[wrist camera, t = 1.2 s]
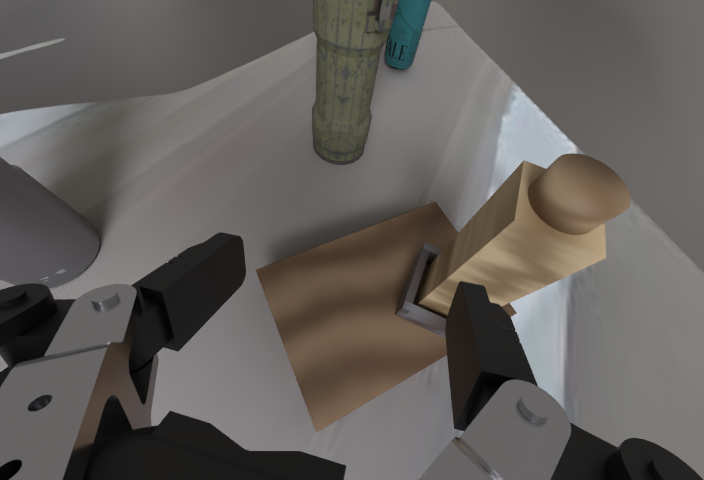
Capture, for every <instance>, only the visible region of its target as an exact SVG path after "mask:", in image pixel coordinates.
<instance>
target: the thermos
mask: <svg viewBox="0 0 704 480" xmlns="http://www.w3.org/2000/svg"><path fill="white" fill-rule="evenodd" d="M398 2H399V0H313V29H314V31H315V34H316V37H317V72H316V101H315V103H314V105H313V108H312V131H313V137H314V139H313V144H314V150H315V152H316V154H317V155H318V156H319V157H320V158H321V159H323V160H325V161H327V162H329V163H333V164H337V165H345V164H349V163H353V162H355V161H356V160H358V159H359V158H360V157H361V156H362V154H363V150H364V144H365V143H366V140H367V136H368V132H369V127H370V122H371V118H372V116H371V110H370V104H371V99H372V94H373V89H374V84H375V79H376V74H377V69H378V64H379V59H380V54H381V49H382V47H383V45H384V44H385V42H386V41H387V38H388V34H389V30H390V29H391V26H392V22H393V19H394V16H395V12H396V9H397V6H398Z"/></svg>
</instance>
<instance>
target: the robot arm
mask: <svg viewBox="0 0 704 480" xmlns="http://www.w3.org/2000/svg"><path fill="white" fill-rule="evenodd" d="M99 244H100V241H99V236H98V234H97V232H96V230H95V229H94V228H93V227H92V226H91V225H89V224H88V223H87V222H85V221H84V220H83V218H82V215H80V214H79V213H78V212H76V211H75V210H74V209H73V208H71V207H70V206H69V205H67V204H66V203H65V202H64V201H62V200H61V199H60V198H58V197H57V196H56V195H55V194H53V193H52V192H51V191H49V190H48V189H47V188H45V187H44V186H43V185H42V184H40V183H39V182H38V181H36V180H35V179H34V178H33V177H31V176H30V175H29V174H27V173H26V172H25V171H24V170H22V169H21V168H20V167H18V166H15V165H10V164H9V163H8V162H6V161H5V160H4V159H2V158H1V157H0V280H3V281H6V282H8V283H11V284H14V285H17V286H13V287H9V288H5V289H2V290H0V355H1V356H2V358H3V359H4V361H5V362H6V363H7V365H8V366H9V367H7V368H6V369H4V370H3V371H1V372H0V480H344V476H345V470H346V466H345V465H342V464H339V463H336V462H333V461H329V460H326V459H323V458H320V457H316V456H313V455H310V454H307V453H304V452H300V451H248V450H245V449H243V448H242V447H241V446H239V445H238V444H237V443H235V442H234V441H233V440H231V439H230V438H229V437H227V436H226V435H225V434H223V433H222V432H221V431H219V430H218V429H217V428H216V427H214V426H213V425H212V424H210V423H207V422H204V421H201V420H198V419H194V418H191V417H188V416H185V415H181V414H178V413H175V412H172V411H170V412H169V413H168V414H167V415H166V417H165V418H164V419H163V420H162V422H161V423H160V424H159V425H158V426H151V408H152V402H153V395H154V388H155V381H156V374H157V367H158V355H157V353H158V352H159V351H160V350H161V349H162V348H163V347H164V348H168V349H172V350H175V351H179V350H180V349H181V348H182V347H183V346H184V345H185V344H186V343H187V342H188V341H189V340H190V339H191V338H192V337H193V336H194V335H195V334H196V332H197V331H198V330H199V329H200V328H201V327H202V326H203V325H204V324H205V323H206V322H207V321H208V320H209V319H210V318H211V317H212V316H213V315H214V314H215V313H216V311H217V310H218V309H219V308H220V307H221V306H222V305H223V304H224V303H225V302H226V301H227V300H228V299H229V298H230V297H231V296H232V295H233V294H234V293H235V292H236V291H237V289H238V288H239V287H240V286H241V285H242V283H243V281H244V279H245V275H246V267H245V257H244V247H243V240H242V238H241V237H240V236H236V235H231V234H226V233H217V234H216V235H214V236H213V237H211V238H210V239H208V240H207V241H205V242H203V243H201V244H198V245H195V246H192V247H190V248H188V249H186V250H185V251H183V252H182V253H180V254H179V255H178V257H174V258H173V259H171V260H170V261H168V263H165V264H163V265H162V266H160V267H159V268H157V269H156V270H154V271H153V272H151V273H150V274H148V275H147V276H145V277H144V278H142V279H141V280H139V281H137V282H136V283H134V284H133V285H131V286H130V285H126V284H113V285H107V286H103V287H100V288H97V289H94V290H92V291H89V292H87V293H85V294H84V295H82V296H81V297H79V298H78V299H68V300H54V298H53V296H52V294H51V292H50V290H49V288H52V287H56V286H59V285H61V284H64V283H66V282H68V281H70V280H72V279H74V278H75V277H77V276H78V275H79V274H81V273H82V272H83V271H85V270H86V268H87V267H88V266H89V265H90V264H91V263H92V262H93V260H94V259H95V257H96V255H97V252H98V250H99ZM445 337H446V347H447V358H448V368H449V379H450V389H451V400H452V410H453V421H454V429H458V430H461V431H464V432H463V434H462V435H461V436H460V437H459V438H457V437H455V438H454V439H453V440H452V441H451V442H450V443H449V444H448V445H447V446H446V448H445V449H444V450H443V451H442V452H441V454H440V455H439V456H438V457H437V458H436V460H435V461H434V462H433V463H432V465H431V466H430V467H429V468H428V469H427V471H426V472H425V473H424V474H423V475H422V477H421V478H420V479H419V480H703V479H702V478H701V477H700V476H699V475H698V474H697V473H696V472H695V471H694V470H693V469H692V468H691V467H689V466H688V465H687V464H686V463H685V462H683V461H682V460H681V459H679V458H678V457H677V456H675V455H674V454H672V453H671V452H669V451H668V450H666V449H664V448H662V447H661V446H659V445H657V444H654V443H652V442H649V441H647V440H643V439H639V438H630V439H627V440H625V441H624V442H623V443H622V444H621V445H620V446H619V447H618V448H617V447H615V446H613V445H612V444H610V443H608V442H606V441H604V440H602V439H600V438H598V437H596V436H594V435H592V434H590V433H588V432H586V431H584V430H582V429H581V428H579V427H577V426H575V425H573V424H572V423H570V421H569V419H568V416H567V414H566V413H565V411H564V410H563V408H562V407H561V406H560V404H559V403H558V402H557V401H556V400H555V399H554V398H553V397H552V396H551V395H549V394H548V393H547V392H546V391H544V390H543V389H541V388H540V387H538V385H537V383H536V380H535V378H534V375H533V373H532V370H531V368H530V365H529V363H528V360H527V358H526V355H525V353H524V350H523V348H522V345H521V343H519V341H520V340H519V337H518V335H517V332H515V327H514V325H513V322H512V320H511V317H510V316H509V315H508V314H507V312H506V311H505V310H504V309H503V308H502V307H501V306H500V305H499V304H496V303H491V302H490V300H489V297H488V294H487V291H486V288H485V286H483V285H479V284H474V283H469V282H464V281H460V282H459V284H458V286H457V288H456V291H455V294H454V297H453V300H452V303H451V306H450V309H449V312H448V315H447V319H446V326H445Z"/></svg>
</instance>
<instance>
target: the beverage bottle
mask: <svg viewBox="0 0 704 480" xmlns="http://www.w3.org/2000/svg"><path fill="white" fill-rule="evenodd" d="M430 2H431V0H399V2H398V6H397V9H396V12H395V16H394V19H393V22H392V26H391V29H390V33H389V35H388V38H387V43H386V44H387V45H386V51H385V60H386V62H387V63H388V64H389V65H391V66H393V67H396V68H408V67H410V66H411V64H412V63H413V60H414V57H415V53H416V52H417V51H416V50H417V46H418V45H419V44H418V43H419V40H420V36H421V35H422V34H421V33H422V31H423V25H424V22H425V19H426V16H427V12H428V9H429V6H430Z"/></svg>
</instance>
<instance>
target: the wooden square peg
mask: <svg viewBox="0 0 704 480" xmlns="http://www.w3.org/2000/svg"><path fill="white" fill-rule="evenodd" d="M629 204H630V194H629V191H628V188H627V186H626V185H625V183H624V182H623V180H622V179H621V178H620V177H619V176H618V175H617V174H616V173H615V172H614V171H613V170H612V169H611V168H609V167H608V166H606V165H605V164H603V163H602V162H600V161H598V160H596V159H594V158H592V157H589V156H586V155H582V154H565V155H562V156H560V157H559V158H558V159H556V160H555V161H554V162H553V163H552V164H551V165H550V166H549V167H548V168H547V169H545V168H542V167H540V166H537V165H535V164H532V163H529V162H527V161H523V162H522V163H521V164H520V165H519V166H518V168H517V169H516V170H515V171H514V172H513V173H512V174H511V175H510V176H509V178H508V179H507V180H506V181H505V182H504V183H503V184H502V185H501V186H500V188H499V189H498V190H497V191H496V192H495V193H494V194H493V195H492V196H491V197H490V199H489V200H488V201H487V202H486V203H485V204H484V205H483V206H482V207H481V209H480V210H479V211H478V212H477V213H476V214H475V215H474V216H473V217H472V219H471V220H470V221H469V222H468V223H467V224H466V225H465V226H464V227H463V228H462V230H461V231H460V232H459V233H458V234H457V235H456V236H455V237H454V238H453V240H452V241H451V242H450V243H449V244H448V245H447V246H446V247H445V248H444V250H443V251H442V252H441V253H440V254H439V255H438V256H437V257H436V258H435V260H434V261H433V262H432V263H431V264H430V265H429V266H428V267H427V268H426V269H425V271H424V275H423V278H422V281H421V284H420V287H419V290H418V293H417V296H416V299H415V302H414V305H416V306H419V307H421V308H423V309H425V310H427V311H430V312H432V313H434V314H436V315H438V316H441V317H443V318H445V319H447V315H448V312H449V309H450V306H451V303H452V300H453V297H454V294H455V291H456V288H457V286H458V284H459V282H460V281H464V282H469V283H474V284H479V285H483V286H485V288H486V291H487V294H488V297H489V300H490V302H491V303H496V304H499V305H500V306H501V307H502V306H504V305H506V304H508V303H510V302H512V301H515V300H517V299H519V298H521V297H523V296H525V295H528V294H530V293H532V292H534V291H536V290H538V289H540V288H543V287H545V286H547V285H549V284H551V283H553V282H556V281H558V280H560V279H562V278H564V277H566V276H568V275H571V274H573V273H575V272H577V271H579V270H581V269H583V268H586V267H588V266H590V265H592V264H594V263H596V262H599V261H601V260H603V259H605V258H606V241H605V222H607V221H609V220H610V219H612V218H614V217H616V216H617V215H619V214H621V213H622V212H624V211H625V210H626V209H627V208H628V207H629Z"/></svg>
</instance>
